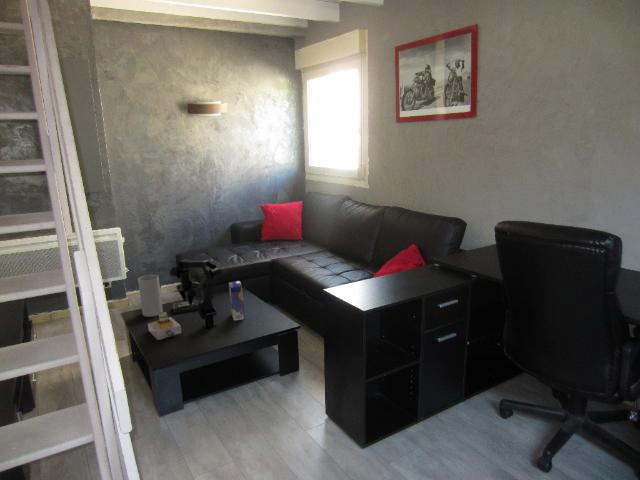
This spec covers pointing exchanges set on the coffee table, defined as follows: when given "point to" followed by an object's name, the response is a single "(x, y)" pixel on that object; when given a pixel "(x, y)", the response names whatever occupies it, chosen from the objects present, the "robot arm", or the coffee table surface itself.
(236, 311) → the beverage box
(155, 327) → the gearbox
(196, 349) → the coffee table surface
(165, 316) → the brass can
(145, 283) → the cylinder vase
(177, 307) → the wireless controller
